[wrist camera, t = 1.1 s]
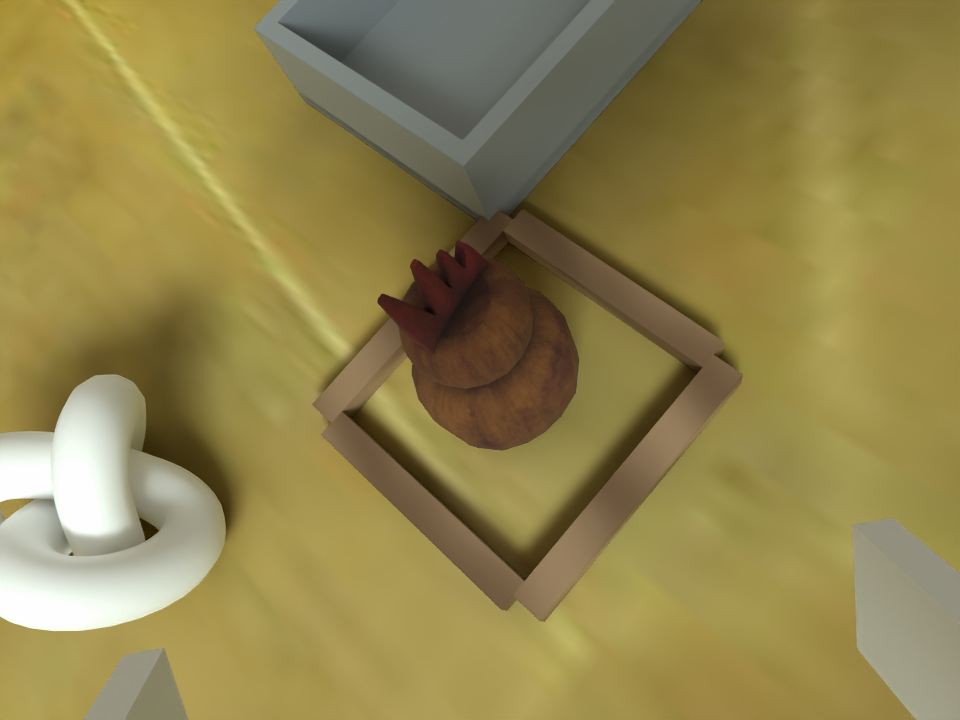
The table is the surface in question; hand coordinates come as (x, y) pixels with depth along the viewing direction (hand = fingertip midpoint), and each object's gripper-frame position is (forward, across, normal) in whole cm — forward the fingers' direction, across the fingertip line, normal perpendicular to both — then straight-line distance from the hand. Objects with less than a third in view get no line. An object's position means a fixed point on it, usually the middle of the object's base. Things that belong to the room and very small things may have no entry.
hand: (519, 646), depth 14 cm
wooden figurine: (+22, +2, -3) cm, 22 cm away
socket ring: (+22, +2, -3) cm, 22 cm away
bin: (+35, +4, +14) cm, 38 cm away
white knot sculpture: (+23, -18, -7) cm, 30 cm away
